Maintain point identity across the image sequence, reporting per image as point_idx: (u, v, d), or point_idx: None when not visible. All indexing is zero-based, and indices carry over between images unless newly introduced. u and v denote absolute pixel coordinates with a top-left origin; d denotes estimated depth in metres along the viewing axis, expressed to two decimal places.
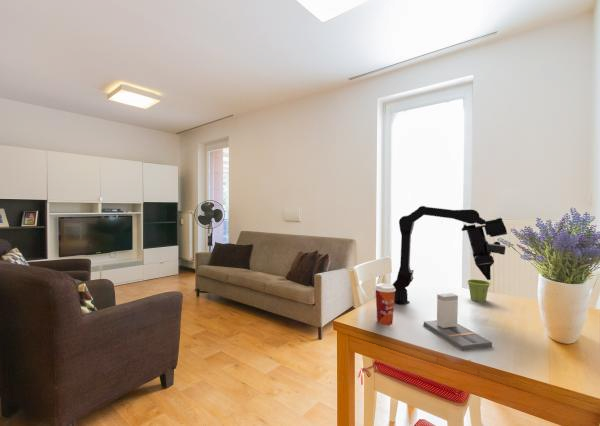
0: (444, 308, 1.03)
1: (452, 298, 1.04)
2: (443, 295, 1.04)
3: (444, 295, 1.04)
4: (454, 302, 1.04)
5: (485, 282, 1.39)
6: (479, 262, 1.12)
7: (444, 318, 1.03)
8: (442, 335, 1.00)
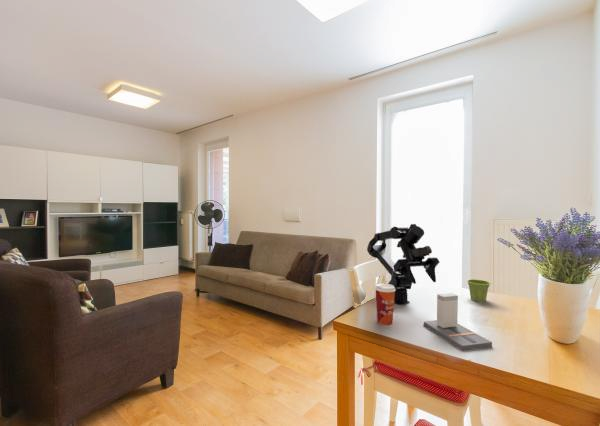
0: (444, 308, 1.03)
1: (452, 298, 1.04)
2: (443, 295, 1.04)
3: (444, 295, 1.04)
4: (454, 302, 1.04)
5: (485, 282, 1.39)
6: (395, 268, 1.22)
7: (444, 318, 1.03)
8: (442, 335, 1.00)
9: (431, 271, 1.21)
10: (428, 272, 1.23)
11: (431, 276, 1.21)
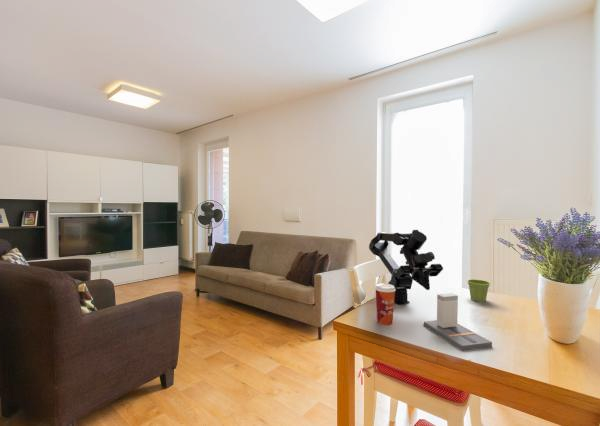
0: (444, 308, 1.03)
1: (452, 298, 1.04)
2: (443, 295, 1.04)
3: (444, 295, 1.04)
4: (454, 302, 1.04)
5: (485, 282, 1.39)
6: (397, 275, 1.20)
7: (444, 318, 1.03)
8: (442, 335, 1.00)
9: (425, 278, 1.18)
10: None
11: None
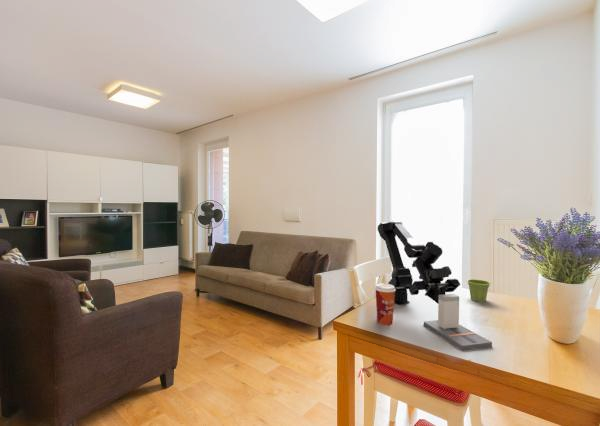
0: (446, 309, 1.02)
1: (453, 298, 1.03)
2: (444, 296, 1.04)
3: (445, 296, 1.04)
4: (455, 302, 1.03)
5: (485, 282, 1.39)
6: (411, 291, 1.11)
7: (445, 319, 1.03)
8: (442, 335, 1.00)
9: None
10: None
11: None
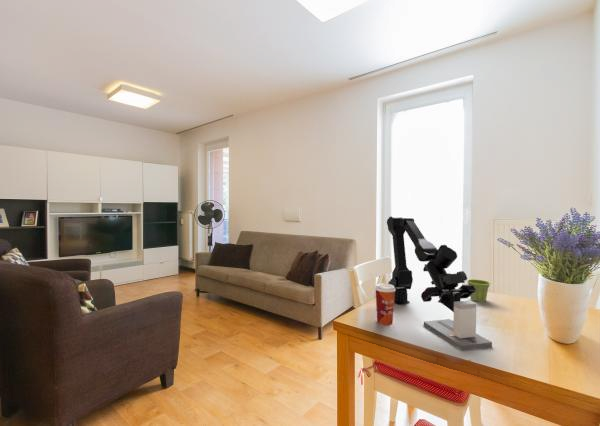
0: (462, 317, 0.95)
1: (470, 306, 0.96)
2: (460, 303, 0.96)
3: (461, 303, 0.96)
4: (472, 310, 0.96)
5: (485, 282, 1.39)
6: (423, 298, 1.03)
7: (462, 328, 0.95)
8: (442, 335, 1.00)
9: None
10: None
11: None
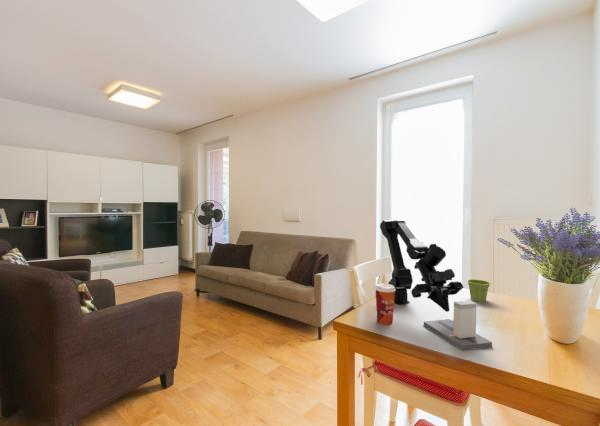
0: (462, 317, 0.95)
1: (470, 306, 0.96)
2: (460, 303, 0.96)
3: (461, 303, 0.96)
4: (472, 310, 0.96)
5: (485, 282, 1.39)
6: (413, 294, 1.09)
7: (462, 328, 0.95)
8: (442, 335, 1.00)
9: (444, 298, 1.07)
10: None
11: None
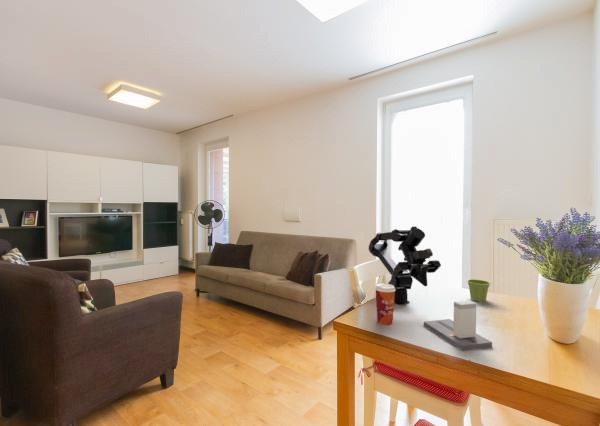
0: (462, 317, 0.95)
1: (470, 306, 0.96)
2: (460, 303, 0.96)
3: (461, 303, 0.96)
4: (472, 310, 0.96)
5: (485, 282, 1.39)
6: (395, 271, 1.21)
7: (462, 328, 0.95)
8: (442, 335, 1.00)
9: (423, 275, 1.19)
10: None
11: None
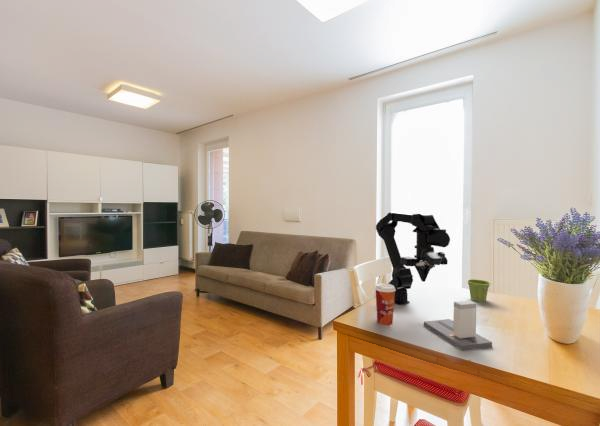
0: (462, 317, 0.95)
1: (470, 306, 0.96)
2: (460, 303, 0.96)
3: (461, 303, 0.96)
4: (472, 310, 0.96)
5: (485, 282, 1.39)
6: (401, 262, 1.21)
7: (462, 328, 0.95)
8: (442, 335, 1.00)
9: (425, 271, 1.21)
10: None
11: None
